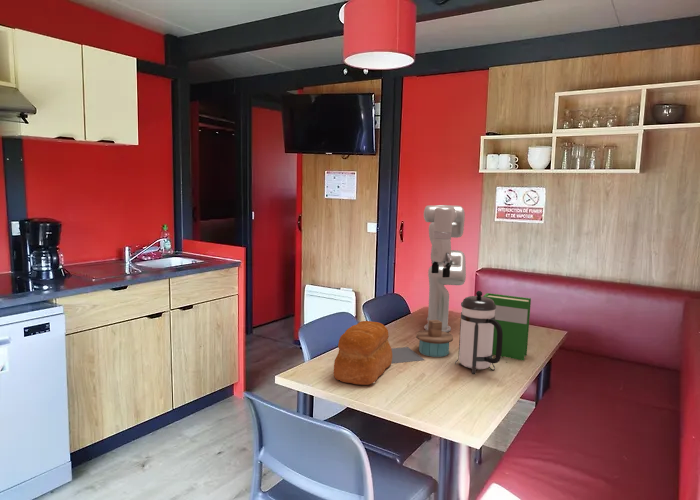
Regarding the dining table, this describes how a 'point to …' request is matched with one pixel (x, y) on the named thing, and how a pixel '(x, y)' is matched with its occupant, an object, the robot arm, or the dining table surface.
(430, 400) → the dining table surface
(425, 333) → the lid
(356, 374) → the bread
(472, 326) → the coffee press
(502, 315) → the hardback book
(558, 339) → the dining table surface
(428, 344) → the bowl
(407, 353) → the mat
